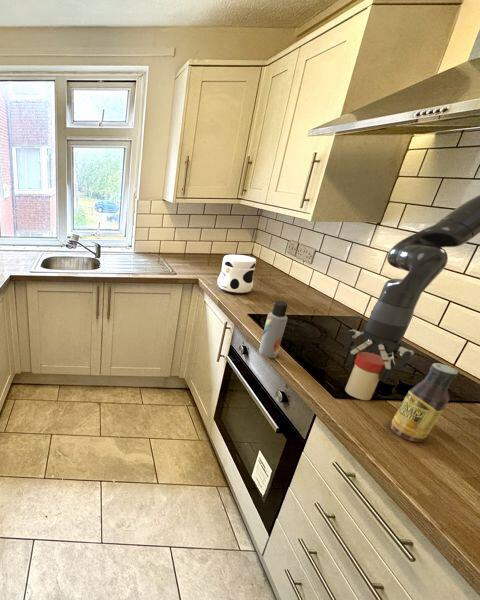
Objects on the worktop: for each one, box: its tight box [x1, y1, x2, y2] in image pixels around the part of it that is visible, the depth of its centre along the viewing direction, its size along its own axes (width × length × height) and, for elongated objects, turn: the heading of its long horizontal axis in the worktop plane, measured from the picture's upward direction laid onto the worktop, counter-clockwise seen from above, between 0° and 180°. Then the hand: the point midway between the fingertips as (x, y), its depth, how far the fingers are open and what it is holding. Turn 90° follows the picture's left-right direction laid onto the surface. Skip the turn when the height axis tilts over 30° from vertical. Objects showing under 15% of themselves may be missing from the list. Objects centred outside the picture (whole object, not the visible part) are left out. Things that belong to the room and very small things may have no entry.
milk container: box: [217, 254, 257, 295], centre depth 167 cm, size 17×17×18 cm
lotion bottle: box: [258, 300, 289, 359], centre depth 108 cm, size 6×6×20 cm
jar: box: [344, 365, 381, 401], centre depth 90 cm, size 6×6×11 cm
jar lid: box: [354, 351, 385, 373], centre depth 88 cm, size 7×7×3 cm
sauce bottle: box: [389, 362, 459, 443], centre depth 74 cm, size 7×6×20 cm
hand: (366, 371), depth 89 cm, fingers closed on jar lid, 6 cm apart
